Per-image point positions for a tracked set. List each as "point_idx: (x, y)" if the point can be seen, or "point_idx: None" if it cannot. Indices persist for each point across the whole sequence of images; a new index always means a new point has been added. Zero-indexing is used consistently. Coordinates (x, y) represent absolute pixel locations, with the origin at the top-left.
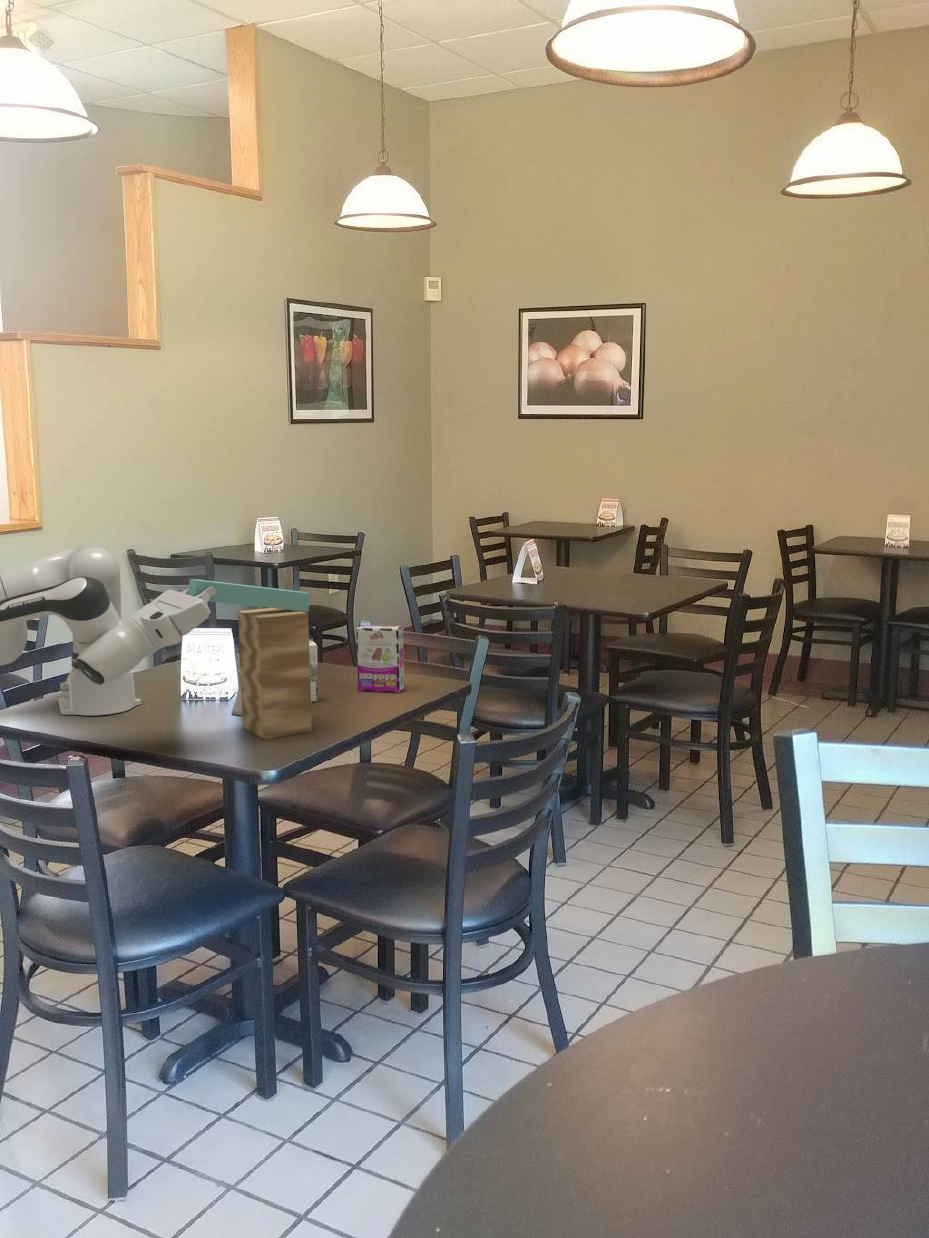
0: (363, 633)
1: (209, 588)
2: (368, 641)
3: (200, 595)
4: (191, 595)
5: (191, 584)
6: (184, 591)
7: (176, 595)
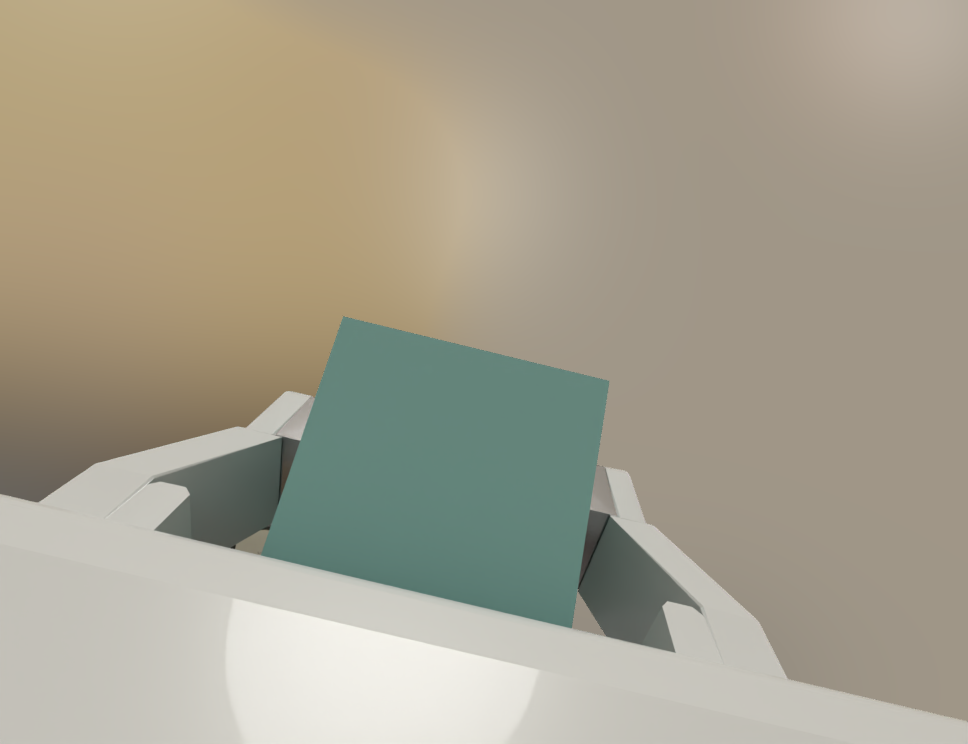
0: (252, 536)
1: (635, 495)
2: (259, 553)
3: (758, 624)
4: (420, 591)
5: (407, 409)
6: (111, 485)
7: (71, 633)
